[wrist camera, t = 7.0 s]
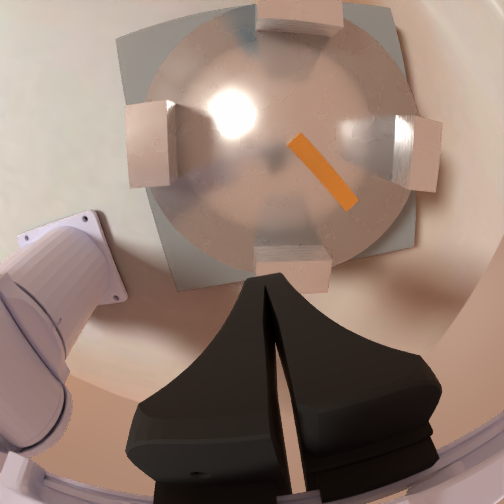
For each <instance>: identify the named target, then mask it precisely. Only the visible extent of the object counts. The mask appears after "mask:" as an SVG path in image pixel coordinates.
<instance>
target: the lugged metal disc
mask: <svg viewBox="0 0 504 504" xmlns="http://www.w3.org/2000/svg"><path fill="white" fill-rule="evenodd" d="M125 119H126V143H127V159H128V172H129V183H130V188H142V187H150V189H151V191H152V194H153V196H154V198H155V200H156V202H157V203H158V205H159V207H160V208H161V210H162V212H163V213H164V215H165V216H166V217H167V219H168V220H169V221H170V223H171V224H172V225H173V226H174V228H175V229H176V230H177V231H178V232H179V233H180V234H181V235H182V236H183V237H184V238H185V239H186V240H188V241H189V242H190V243H191V244H192V245H194V246H195V247H196V248H198V249H199V250H201V251H202V252H203V253H205V254H207V255H208V256H210V257H212V258H214V259H215V260H217V261H219V262H221V263H224V264H226V265H229V266H231V267H234V268H236V269H240V270H243V271H247V272H251V273H254V277H257V276H262V275H268V274H273V273H279V272H280V273H282V274H283V275H284V276H285V278H286V279H287V280H288V281H289V283H290V284H291V285H292V286H293V287H294V288H295V289H296V290H297V291H298V292H299V293H300V294H309V293H328V287H329V281H330V274H331V267H334V266H336V265H339V264H341V263H343V262H345V261H347V260H349V259H351V258H353V257H354V256H356V255H357V254H359V253H361V252H362V251H364V250H365V249H366V248H368V247H369V246H370V245H371V244H373V243H374V242H375V241H376V240H377V239H379V238H380V236H381V235H382V234H383V233H384V232H385V231H386V230H387V229H388V228H389V227H390V226H391V224H392V223H393V222H394V220H395V219H396V218H397V216H398V215H399V214H400V212H401V210H402V208H403V207H404V205H405V203H406V201H407V199H408V197H409V195H410V192H411V190H416V191H426V192H435V193H436V187H437V179H438V171H439V163H440V152H441V140H442V123H441V122H437V121H434V120H430V119H426V118H422V117H419V116H418V111H417V107H416V103H415V100H414V97H413V95H412V92H411V89H410V87H409V85H408V83H407V81H406V79H405V77H404V75H403V73H402V71H401V70H400V68H399V67H398V65H397V64H396V62H395V61H394V60H393V58H392V57H391V56H390V54H389V53H388V52H387V51H386V50H385V49H384V48H383V47H382V46H381V45H380V43H379V42H377V41H376V40H375V39H374V38H373V37H372V36H370V35H369V34H368V33H367V32H366V31H364V30H363V29H361V28H360V27H358V26H357V25H355V24H354V23H352V22H350V21H349V20H347V19H345V18H343V9H342V0H255V4H253V5H249V6H244V7H240V8H236V9H233V10H231V11H228V12H226V13H223V14H221V15H218V16H216V17H214V18H212V19H211V20H209V21H207V22H205V23H204V24H202V25H200V26H199V27H197V28H196V29H195V30H193V31H192V32H191V33H190V34H188V35H187V36H186V37H185V38H183V39H182V40H181V42H180V43H179V44H178V45H177V46H176V47H175V48H174V49H173V50H172V51H171V52H170V53H169V55H168V56H167V57H166V59H165V60H164V62H163V63H162V65H161V66H160V68H159V69H158V71H157V73H156V75H155V77H154V79H153V81H152V83H151V85H150V87H149V90H148V93H147V96H146V99H145V103H139V104H132V105H126V106H125Z"/></svg>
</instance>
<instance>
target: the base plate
mask: <svg viewBox="0 0 504 504" xmlns="http://www.w3.org/2000/svg"><path fill="white" fill-rule="evenodd" d="M246 6H249V5H246ZM240 7H244V6H238V7H231V8H225V9H219V10H214V11H209V12H204V13H199V14H194V15H190V16H186V17H182V18H178V19H174V20H171V21H167V22H164V23H160V24H157V25H154V26H151V27H147V28H144V29H141V30H139V31H136V32H133V33H130V34H127V35H125V36H122V37H120V38H117V39H116V45H117V52H118V59H119V66H120V72H121V78H122V84H123V90H124V95H125V101H126V105H132V104H139V103H145V99H146V96H147V93H148V90H149V87H150V85H151V83H152V81H153V79H154V77H155V75H156V73H157V71H158V69H159V68H160V66H161V65H162V63H163V62H164V60H165V59H166V57H167V56H168V55H169V53H170V52H171V51H172V50H173V49H174V48H175V47H176V46H177V45H178V44H179V43H180V42H181V40H182V39H183V38H185V37H186V36H187V35H188V34H190V33H191V32H192V31H193V30H195V29H196V28H197V27H199V26H200V25H202V24H204V23H205V22H207V21H209V20H211V19H212V18H214V17H216V16H218V15H221V14H223V13H226V12H228V11H231V10H233V9H236V8H240ZM342 9H343V18H345V19H347V20H349V21H350V22H352V23H354V24H355V25H357V26H358V27H360V28H361V29H363V30H364V31H366V32H367V33H368V34H369V35H370V36H372V37H373V38H374V39H375V40H376V41H377V42H379V43H380V45H381V46H382V47H383V48H384V49H385V50H386V51H387V52H388V53H389V54H390V56H391V57H392V58H393V60H394V61H395V62H396V64H397V65H398V67H399V68H400V70H401V71H402V73H403V75H404V77H405V79H406V81H407V78H406V72H405V67H404V62H403V57H402V52H401V48H400V43H399V39H398V35H397V31H396V27H395V23H394V20H393V16H392V13H391V10H390V8H386V7H380V6H372V5H364V4H354V3H342ZM145 188H146V192H147V196H148V199H149V203H150V206H151V210H152V213H153V217H154V220H155V224H156V227H157V230H158V234H159V237H160V240H161V243H162V246H163V250H164V253H165V256H166V259H167V262H168V265H169V268H170V271H171V274H172V277H173V280H174V283H175V285H176V288H177V291H178V292H181V291H187V290H193V289H199V288H205V287H211V286H217V285H222V284H228V283H234V282H240V281H245V280H246V279H247V278H251V277H254V273H251V272H247V271H243V270H240V269H236V268H234V267H231V266H229V265H226V264H224V263H221V262H219V261H217V260H215V259H214V258H212V257H210V256H208V255H207V254H205V253H203V252H202V251H201V250H199V249H198V248H196V247H195V246H194V245H192V244H191V243H190V242H189V241H188V240H186V239H185V238H184V237H183V236H182V235H181V234H180V233H179V232H178V231H177V230H176V229H175V228H174V226H173V225H172V224H171V223H170V221H169V220H168V219H167V217H166V216H165V215H164V213H163V212H162V210H161V208H160V207H159V205H158V203H157V202H156V200H155V198H154V196H153V194H152V191H151V189H150V187H145ZM415 221H416V190H411V192H410V195H409V197H408V199H407V201H406V203H405V205H404V207H403V208H402V210H401V212H400V214H399V215H398V216H397V218H396V219H395V220H394V222H393V223H392V224H391V226H390V227H389V228H388V229H387V230H386V231H385V232H384V233H383V234H382V235H381V236H380V238H379V239H377V240H376V241H375V242H374V243H373V244H371V245H370V246H369V247H368V248H366V249H365V250H364V251H362V252H361V253H359V254H357V255H356V256H354V257H353V258H351V259H349V260H347V261H350V260H354V259H359V258H364V257H369V256H374V255H378V254H383V253H388V252H392V251H397V250H401V249H406V248H410V247H414V240H415Z"/></svg>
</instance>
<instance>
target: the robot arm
mask: <svg viewBox="0 0 504 504" xmlns="http://www.w3.org/2000/svg"><path fill="white" fill-rule="evenodd" d="M84 216H86V217H87V218H88V221H87V220H85V217H84ZM27 236H28V237H27ZM28 238H29V239H28ZM17 242H18V245H19V248H18V249H17V250H16V251H14V252H13V253H12V254H11V255H9V256H8V257H7V258H6V259H4V260H3V261H2V262H1V263H0V473H1V475H0V504H366V503H369V502H372V501H375V500H378V499H381V498H384V497H387V496H389V495H392V494H395V493H398V492H400V491H403V490H405V489H408V488H409V489H408V491H407V494H406V495H405V496H404V497H400V498H397V499H394V500H391V501H388V502H385V503H381V504H496V503H497V502H499V501H500V500H501V499H502V498H504V411H503V412H501V413H500V414H499V415H497V416H495V417H494V418H492V419H491V420H489V421H488V422H486V423H484V424H483V425H482V426H480V427H478V428H476V429H475V430H473V431H471V432H470V433H468V434H466V435H464V436H463V437H461V438H459V439H457V440H455V441H453V442H451V443H449V444H448V445H446V446H444V447H442V448H440V449H438V450H436V448H435V446H434V444H433V442H432V440H431V437H430V436H431V435H432V434H433V430H432V428H431V425H430V424H429V419H430V417H431V416H432V414H433V412H434V410H435V408H436V406H437V404H438V402H439V399H440V397H441V394H442V387H441V384H440V383H439V381H438V379H437V378H436V376H435V374H434V373H433V372H432V370H431V368H430V367H429V366H428V365H427V363H426V362H425V361H424V360H423V359H422V357H421V356H420V355H416V354H412V353H408V352H404V351H401V350H397V349H393V348H390V347H387V346H384V345H381V344H379V343H376V342H373V341H371V340H368V339H366V338H364V337H362V336H360V335H358V334H356V333H354V332H352V331H350V330H348V329H346V328H344V327H342V326H340V325H339V324H337V323H336V322H334V321H333V320H331V319H330V318H328V317H327V316H325V315H324V314H323V313H321V312H320V311H319V310H318V309H316V308H315V307H314V306H313V305H312V304H310V303H309V302H308V301H307V300H306V299H305V298H304V297H303V296H302V295H301V294H300V293H299V292H298V291H297V290H296V289H295V288H294V287H293V286H292V285H291V284H290V283H289V281H288V280H287V279H286V278H285V276H284V275H283V274H282V273H280V272H279V273H273V274H268V275H262V276H257V277H251V278H247V279H246V280H245V281H244V285H243V287H242V290H241V293H240V295H239V297H238V299H237V301H236V303H235V305H234V307H233V309H232V311H231V313H230V315H229V316H228V318H227V320H226V321H225V323H224V325H223V326H222V328H221V329H220V331H219V332H218V334H217V335H216V336H215V338H214V339H213V340H212V342H211V343H210V344H209V346H208V347H207V348H206V349H205V350H204V351H203V352H202V354H201V355H200V356H199V357H198V358H197V359H196V360H195V361H194V362H193V363H192V364H191V365H190V366H189V367H188V368H187V369H186V370H185V371H183V372H182V373H181V374H180V375H179V376H178V377H176V378H175V379H174V380H173V381H171V382H170V383H169V384H168V385H166V386H165V387H164V388H162V389H161V390H159V391H158V392H156V393H155V394H153V395H152V396H150V397H149V398H147V399H146V400H144V401H142V402H141V403H139V404H138V407H137V409H136V412H135V415H134V417H133V421H132V424H131V428H130V432H129V437H128V441H127V445H126V450H125V451H126V454H127V457H128V458H129V459H130V460H131V461H132V463H133V464H134V465H135V466H137V467H138V468H139V469H140V470H142V471H143V472H144V473H145V474H147V475H148V476H149V477H151V478H152V479H153V480H155V481H156V483H155V491H154V497H153V496H145V495H138V494H132V493H126V492H120V491H115V490H110V489H106V488H101V487H97V486H93V485H89V484H85V483H81V482H78V481H75V480H71V479H68V478H65V477H62V476H58V475H56V474H53V473H50V472H47V471H45V469H44V468H42V467H41V466H40V465H38V464H37V463H36V462H34V461H32V460H31V459H30V458H32V457H34V456H36V455H39V454H41V453H44V452H45V451H47V450H49V449H50V448H52V447H53V446H54V445H55V444H56V443H57V442H58V441H59V440H60V439H61V438H62V436H63V435H64V433H65V431H66V429H67V427H68V424H69V421H70V418H71V414H72V408H73V401H72V396H71V394H70V392H69V390H68V388H67V387H66V386H65V385H64V384H65V381H66V379H67V377H68V375H69V373H70V370H69V368H68V367H67V365H66V363H65V360H66V358H67V356H68V354H69V352H70V350H71V349H72V347H73V345H74V343H75V342H76V340H77V338H78V336H79V335H80V333H81V331H82V330H83V328H84V326H85V324H86V323H87V321H88V320H89V318H90V316H91V315H92V313H93V311H94V310H95V308H96V307H97V306H98V305H105V304H112V303H119V302H125V301H126V300H127V298H128V295H127V292H126V290H125V287H124V285H123V283H122V280H121V278H120V275H119V273H118V270H117V268H116V265H115V263H114V260H113V258H112V255H111V252H110V250H109V247H108V244H107V241H106V239H105V236H104V233H103V230H102V227H101V224H100V221H99V218H98V215H97V213H96V212H95V211H94V210H88V211H85V212H82V213H79V214H76V215H73V216H69V217H66V218H63V219H61V220H58V221H55V222H52V223H49V224H46V225H43V226H40V227H38V228H35V229H32V230H30V231H27V232H24V233H22V234H20V235H18V236H17ZM115 295H116V296H118V297H119V298H117V297H116V296H115ZM275 343H276V346H277V350H278V353H279V357H280V360H281V364H282V367H283V371H284V374H285V378H286V381H287V385H288V388H289V392H290V397H291V402H292V408H293V414H294V420H295V425H296V431H297V437H298V443H299V449H300V455H301V462H302V468H303V474H304V480H305V487H306V492H303V493H297V494H292V488H291V483H290V475H289V469H288V463H287V456H286V449H285V443H284V437H283V429H282V422H281V415H280V409H279V402H278V392H277V370H276V349H275ZM410 487H411V488H410Z"/></svg>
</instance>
